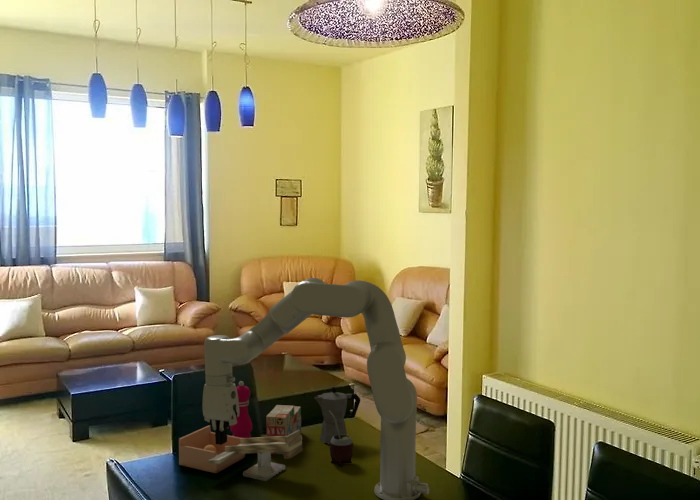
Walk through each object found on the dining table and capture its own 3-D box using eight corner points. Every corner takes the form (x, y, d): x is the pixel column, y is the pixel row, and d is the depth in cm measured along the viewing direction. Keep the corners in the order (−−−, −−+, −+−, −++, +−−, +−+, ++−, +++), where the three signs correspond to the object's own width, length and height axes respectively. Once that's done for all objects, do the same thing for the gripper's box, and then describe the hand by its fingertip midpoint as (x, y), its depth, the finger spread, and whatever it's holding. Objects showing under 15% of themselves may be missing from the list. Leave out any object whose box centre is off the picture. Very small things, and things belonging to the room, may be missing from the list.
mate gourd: (351, 467, 199) (351, 418, 198) (325, 466, 200) (325, 417, 199) (353, 458, 207) (354, 410, 206) (328, 457, 207) (328, 410, 206)
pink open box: (244, 457, 207) (244, 432, 207) (216, 473, 195) (216, 446, 194) (208, 449, 213) (208, 425, 213) (179, 464, 201) (178, 438, 200)
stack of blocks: (283, 431, 231) (283, 396, 231) (301, 432, 230) (301, 397, 230) (266, 454, 210) (265, 415, 210) (285, 455, 209) (285, 416, 209)
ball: (210, 440, 206) (207, 451, 207) (202, 444, 203) (198, 456, 204) (220, 446, 205) (217, 458, 206) (212, 451, 201) (208, 462, 202)
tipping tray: (304, 449, 193) (300, 429, 194) (273, 469, 179) (269, 446, 179) (243, 452, 203) (240, 433, 204) (209, 471, 189) (206, 449, 189)
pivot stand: (285, 469, 198) (285, 447, 198) (266, 481, 189) (266, 458, 189) (262, 464, 202) (262, 443, 201) (243, 475, 193) (242, 453, 192)
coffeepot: (314, 445, 218) (314, 391, 217) (313, 435, 227) (313, 383, 226) (361, 444, 219) (361, 390, 218) (358, 434, 228) (359, 382, 227)
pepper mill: (226, 441, 221) (225, 382, 219) (239, 435, 227) (239, 377, 226) (243, 445, 217) (243, 385, 216) (256, 438, 224) (256, 380, 223)
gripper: (248, 378, 189) (250, 442, 190) (206, 374, 196) (208, 435, 197) (232, 385, 182) (234, 451, 184) (189, 380, 189) (192, 443, 190)
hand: (221, 443), depth 190 cm, fingers closed
